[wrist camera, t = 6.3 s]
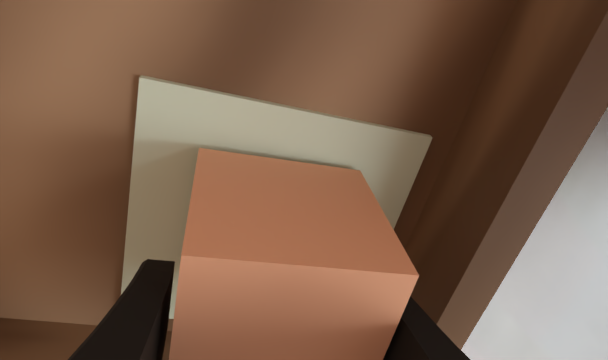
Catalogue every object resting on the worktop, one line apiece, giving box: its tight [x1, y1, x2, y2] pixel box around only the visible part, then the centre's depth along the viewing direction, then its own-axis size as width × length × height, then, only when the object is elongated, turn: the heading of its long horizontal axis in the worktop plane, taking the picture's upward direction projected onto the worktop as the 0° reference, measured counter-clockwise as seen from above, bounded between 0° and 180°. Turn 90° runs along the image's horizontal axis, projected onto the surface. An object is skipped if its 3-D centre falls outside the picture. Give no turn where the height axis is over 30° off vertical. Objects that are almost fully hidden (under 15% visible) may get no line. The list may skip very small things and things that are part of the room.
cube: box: [169, 148, 419, 360], centre depth 11 cm, size 4×4×4 cm
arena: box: [0, 0, 608, 360], centre depth 11 cm, size 16×16×4 cm
